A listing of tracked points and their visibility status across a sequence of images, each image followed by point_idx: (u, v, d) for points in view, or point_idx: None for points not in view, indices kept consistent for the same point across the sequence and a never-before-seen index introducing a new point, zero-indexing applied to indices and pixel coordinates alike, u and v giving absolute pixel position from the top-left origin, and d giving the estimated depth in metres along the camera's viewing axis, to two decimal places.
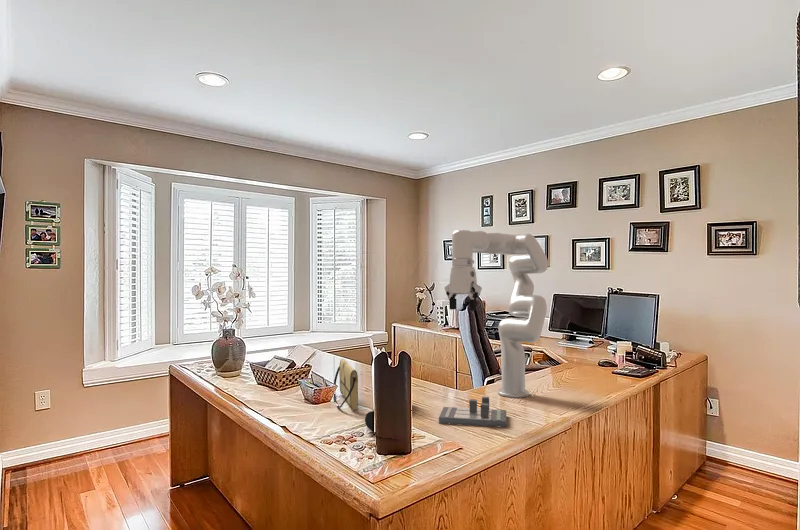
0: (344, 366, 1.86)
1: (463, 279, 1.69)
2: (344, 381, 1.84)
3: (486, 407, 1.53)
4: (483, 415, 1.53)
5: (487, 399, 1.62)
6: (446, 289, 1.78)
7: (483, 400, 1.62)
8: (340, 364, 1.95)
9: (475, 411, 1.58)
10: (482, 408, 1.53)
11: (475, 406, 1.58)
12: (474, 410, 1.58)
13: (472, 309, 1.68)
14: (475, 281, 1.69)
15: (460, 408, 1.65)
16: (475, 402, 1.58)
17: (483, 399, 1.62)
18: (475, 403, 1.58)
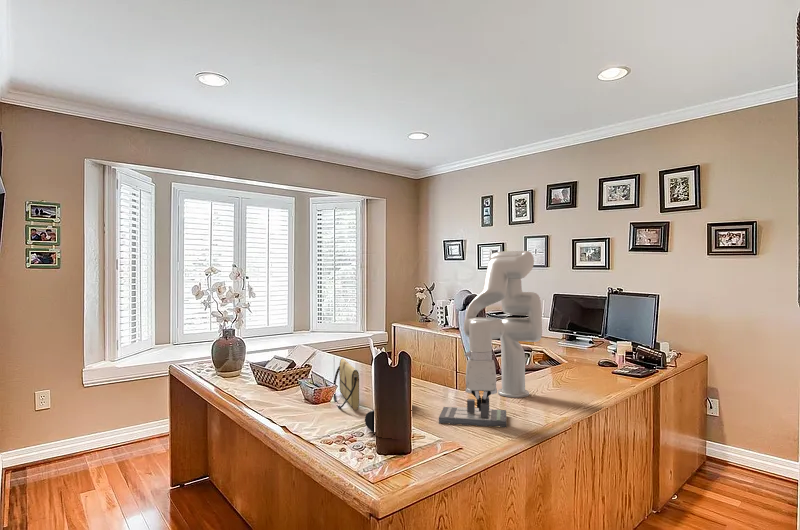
0: (344, 366, 1.86)
1: None
2: (345, 381, 1.84)
3: (486, 407, 1.53)
4: (483, 415, 1.53)
5: (487, 399, 1.62)
6: None
7: None
8: (340, 364, 1.95)
9: (473, 411, 1.58)
10: (482, 408, 1.53)
11: (473, 406, 1.58)
12: (471, 410, 1.58)
13: (479, 408, 1.59)
14: (466, 376, 1.59)
15: (460, 408, 1.65)
16: (473, 402, 1.58)
17: None
18: (473, 403, 1.58)
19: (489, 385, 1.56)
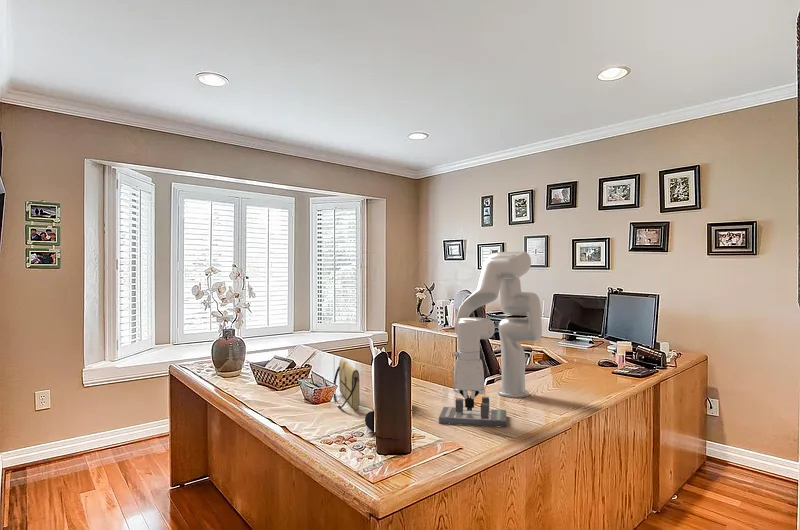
0: (345, 366, 1.86)
1: None
2: (345, 381, 1.84)
3: (486, 407, 1.53)
4: (483, 415, 1.53)
5: (487, 399, 1.62)
6: None
7: (483, 400, 1.62)
8: (340, 364, 1.95)
9: (461, 410, 1.59)
10: (482, 408, 1.53)
11: (461, 405, 1.59)
12: (460, 410, 1.59)
13: (467, 407, 1.60)
14: (454, 375, 1.59)
15: None
16: (461, 401, 1.59)
17: (483, 399, 1.62)
18: (461, 402, 1.59)
19: (477, 385, 1.57)
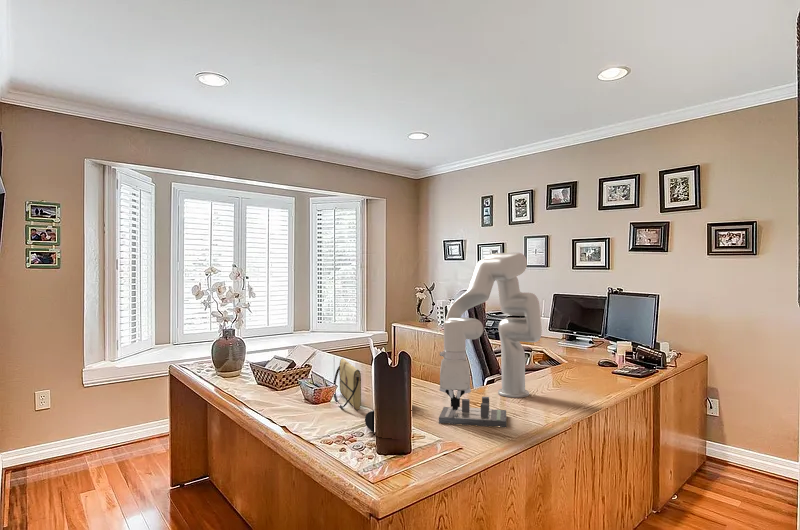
0: (345, 366, 1.86)
1: None
2: (345, 381, 1.84)
3: (486, 407, 1.53)
4: (483, 415, 1.53)
5: (487, 399, 1.62)
6: None
7: (483, 400, 1.62)
8: (340, 364, 1.95)
9: (467, 411, 1.59)
10: (482, 408, 1.53)
11: (467, 406, 1.59)
12: (466, 410, 1.59)
13: (453, 407, 1.61)
14: (440, 375, 1.61)
15: (460, 408, 1.65)
16: (467, 402, 1.59)
17: (483, 399, 1.62)
18: (467, 403, 1.59)
19: (462, 384, 1.58)
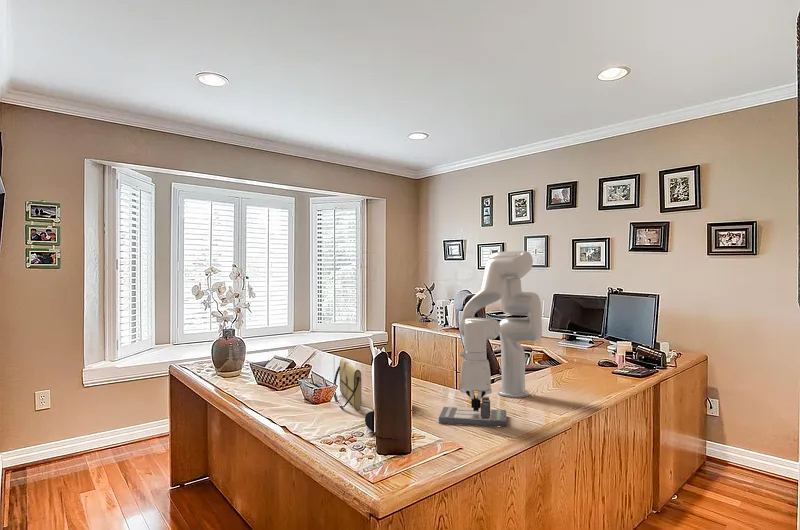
0: (345, 366, 1.86)
1: None
2: (346, 381, 1.84)
3: (486, 407, 1.53)
4: (483, 415, 1.53)
5: (487, 399, 1.62)
6: None
7: None
8: (340, 364, 1.95)
9: (488, 412, 1.57)
10: (482, 408, 1.53)
11: (488, 407, 1.57)
12: None
13: None
14: None
15: (460, 408, 1.65)
16: (488, 403, 1.57)
17: (483, 399, 1.62)
18: (488, 404, 1.57)
19: (483, 385, 1.56)
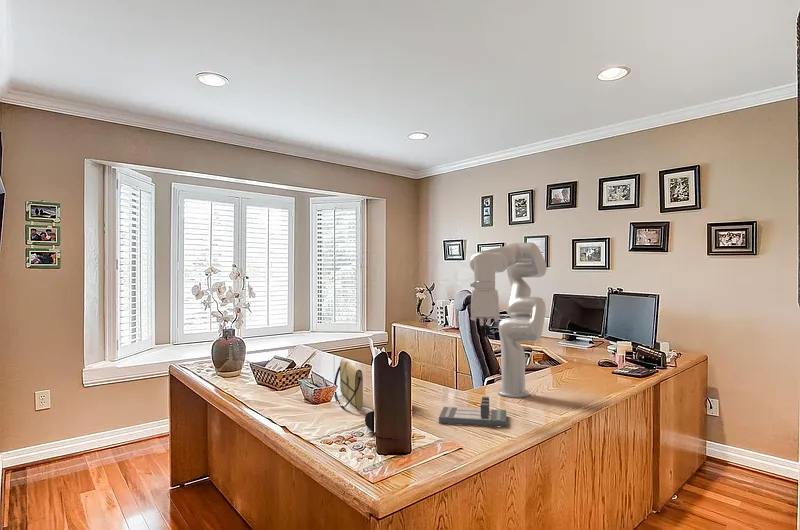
0: (346, 366, 1.87)
1: None
2: (347, 381, 1.85)
3: (486, 407, 1.53)
4: (483, 415, 1.53)
5: (487, 399, 1.62)
6: None
7: None
8: (341, 364, 1.95)
9: None
10: (482, 408, 1.53)
11: None
12: None
13: (483, 335, 1.70)
14: (471, 304, 1.69)
15: (460, 408, 1.65)
16: (487, 403, 1.57)
17: (483, 399, 1.62)
18: None
19: (493, 312, 1.66)
